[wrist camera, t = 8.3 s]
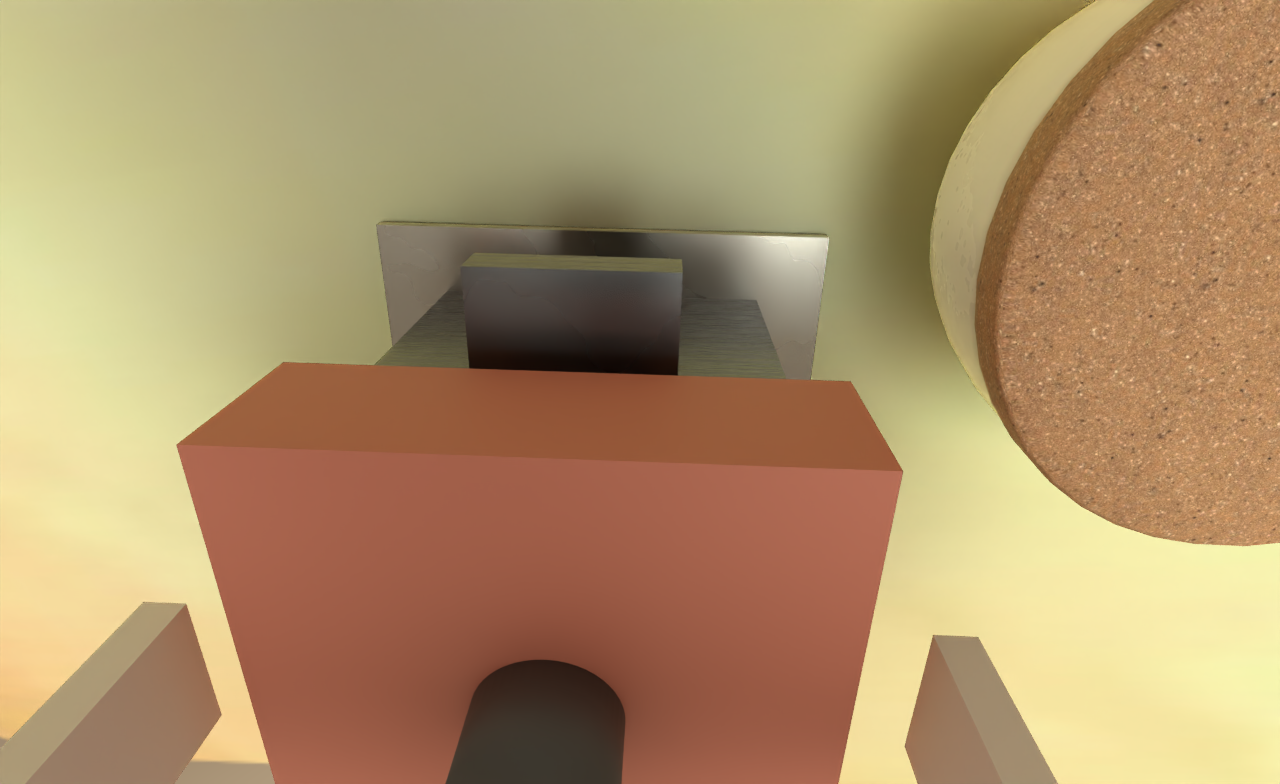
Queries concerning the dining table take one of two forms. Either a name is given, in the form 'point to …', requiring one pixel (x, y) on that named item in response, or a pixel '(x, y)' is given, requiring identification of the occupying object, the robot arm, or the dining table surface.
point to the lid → (546, 572)
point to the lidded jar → (1129, 263)
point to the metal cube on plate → (602, 299)
